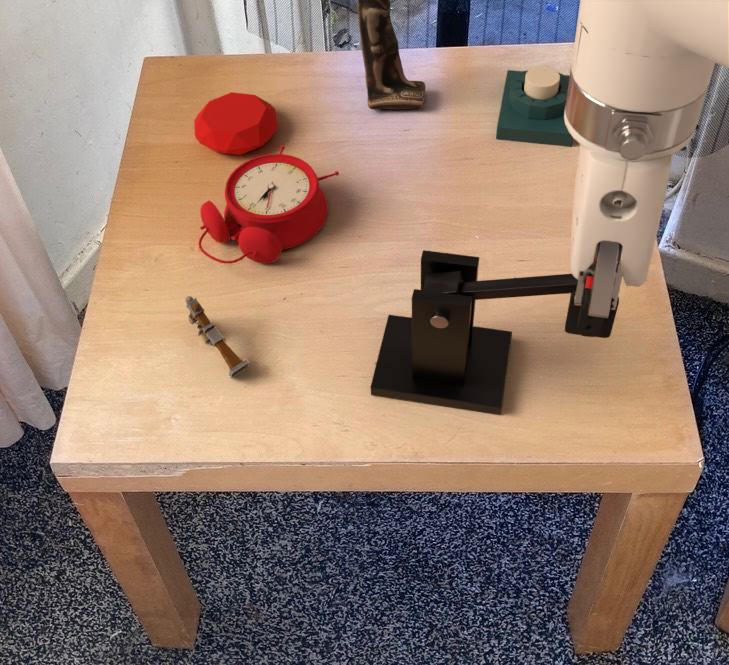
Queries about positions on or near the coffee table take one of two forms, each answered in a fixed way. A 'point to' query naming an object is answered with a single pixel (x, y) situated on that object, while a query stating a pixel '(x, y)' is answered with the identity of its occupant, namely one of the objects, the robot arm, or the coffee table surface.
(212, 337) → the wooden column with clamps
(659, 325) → the coffee table surface
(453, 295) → the black lever base
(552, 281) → the red handled lever
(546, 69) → the power button
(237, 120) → the gemstone
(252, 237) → the alarm clock
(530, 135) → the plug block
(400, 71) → the statue
